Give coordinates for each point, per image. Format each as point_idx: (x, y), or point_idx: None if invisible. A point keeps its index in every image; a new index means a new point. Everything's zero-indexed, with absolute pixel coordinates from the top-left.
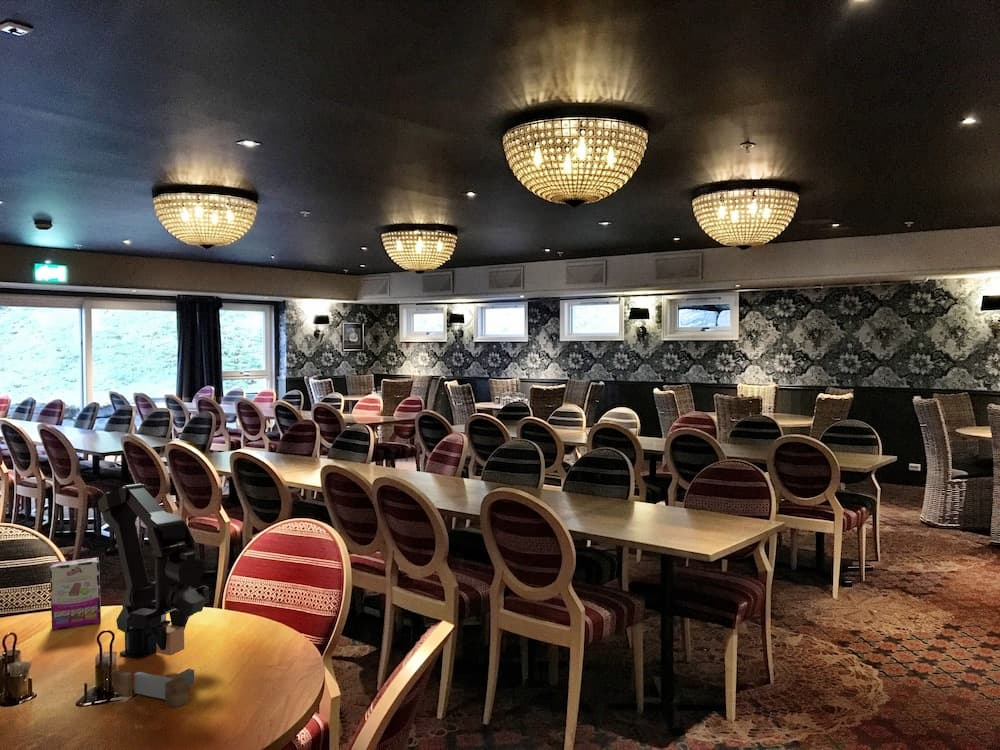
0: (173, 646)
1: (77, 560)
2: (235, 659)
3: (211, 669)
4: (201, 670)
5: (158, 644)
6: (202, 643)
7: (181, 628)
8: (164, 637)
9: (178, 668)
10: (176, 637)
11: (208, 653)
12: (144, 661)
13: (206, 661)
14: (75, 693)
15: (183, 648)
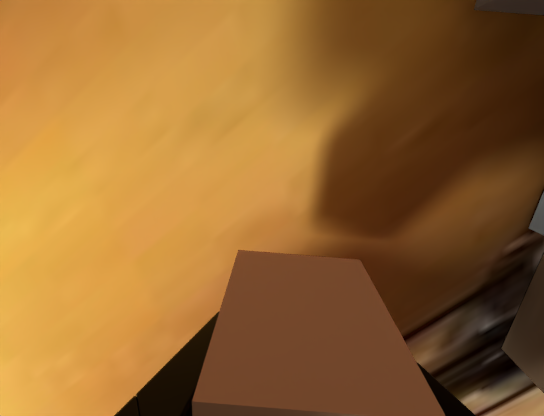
0: (345, 289)
1: None
2: (58, 12)
3: (220, 60)
4: (249, 107)
5: None
6: (18, 300)
7: (240, 398)
8: (451, 411)
9: (264, 229)
10: (319, 334)
11: (79, 210)
12: None
13: (152, 157)
14: (536, 409)
15: (246, 252)
